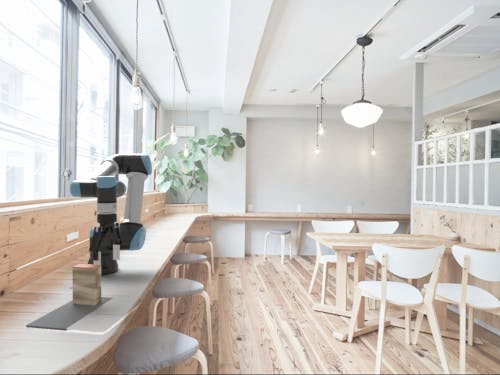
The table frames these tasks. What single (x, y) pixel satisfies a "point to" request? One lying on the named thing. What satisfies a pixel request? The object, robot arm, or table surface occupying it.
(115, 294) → the table surface
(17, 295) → the table surface
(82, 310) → the mat
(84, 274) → the block
